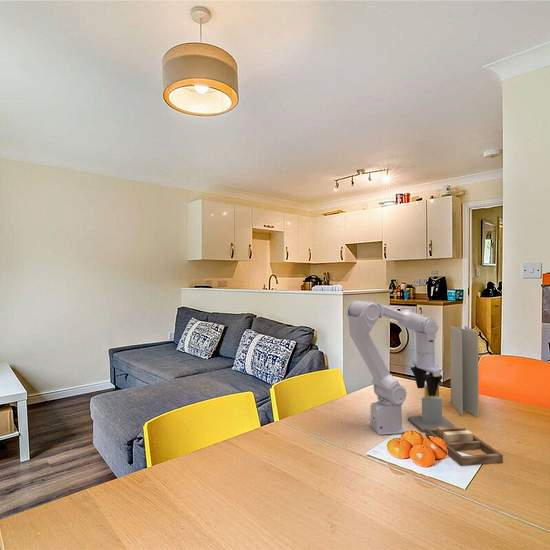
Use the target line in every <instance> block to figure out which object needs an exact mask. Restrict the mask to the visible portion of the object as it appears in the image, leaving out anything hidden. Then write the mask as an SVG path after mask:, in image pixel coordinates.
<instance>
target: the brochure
mask: <svg viewBox="0 0 550 550" xmlns="http://www.w3.org/2000/svg"><path fill="white" fill-rule="evenodd" d="M449 330H450V331H449V336H450V337H449V340H450V343H449V344H450V349H449V350H450V352H449V353H450V354H449V355H450V362H449V363H450V403H451V402H452V403H451V404H452V406H453V405H454V406H455V407H454V406H453V407H454V408H455V410H456V409H457V410H458V411H457V410H456V411H457V412H458V414H459V415H460V414H461V415H460V416H461V417H464V415H463V413H464V411H465V412H467V411H468V412H467V413H469V412H470V413H469V414H471V413H472V414H471V415H473V416H475V417H476V418H480V417H479V416H480V414H479V413H480V410H479V407H480V406H479V403H480V402H479V401H480V399H479V388H480V387H479V332H478V331H476V330H475V329H472V328H470V327H468V326H466V325H465V326H464V328H462V327H459V326H458V327H456V326H452V325H450V326H449ZM464 409H465V410H464ZM463 410H464V411H463Z"/></svg>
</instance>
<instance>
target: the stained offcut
mask: <svg viewBox="0 0 550 550" xmlns="http://www.w3.org/2000/svg"><path fill="white" fill-rule="evenodd" d="M465 430H466V427H465V426H463V425H455V426H445V427H437V436H438V437H439V438H441V439H443V432H451V431H465Z"/></svg>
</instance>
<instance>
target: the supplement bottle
mask: <svg viewBox="0 0 550 550" xmlns="http://www.w3.org/2000/svg"><path fill="white" fill-rule="evenodd" d="M423 391H424V394H423V395H424V397H423V398H425V397H440V384H439V385H438V388H437V391H436V395H435V396H429V395H428V390H427V383H426V380H425V386H424V388H423Z"/></svg>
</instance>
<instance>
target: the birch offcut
mask: <svg viewBox="0 0 550 550" xmlns="http://www.w3.org/2000/svg"><path fill="white" fill-rule="evenodd" d="M465 430H466V431H451V432H443V440H444V441H445V442H446V443H456V442H471V441H473V435H474V433H473V432H472V431H470V430H468V429H465Z"/></svg>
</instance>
